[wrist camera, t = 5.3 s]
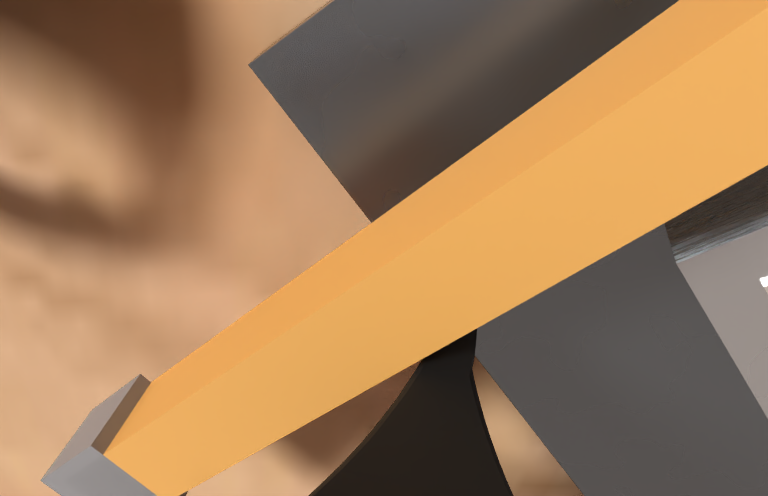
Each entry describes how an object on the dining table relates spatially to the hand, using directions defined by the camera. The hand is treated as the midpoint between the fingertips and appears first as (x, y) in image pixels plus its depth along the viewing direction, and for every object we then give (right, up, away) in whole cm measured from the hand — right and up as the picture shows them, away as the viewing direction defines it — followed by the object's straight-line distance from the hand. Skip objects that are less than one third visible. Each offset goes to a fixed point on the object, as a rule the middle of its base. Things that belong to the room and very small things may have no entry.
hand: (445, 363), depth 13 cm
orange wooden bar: (-1, +2, -1) cm, 2 cm away
